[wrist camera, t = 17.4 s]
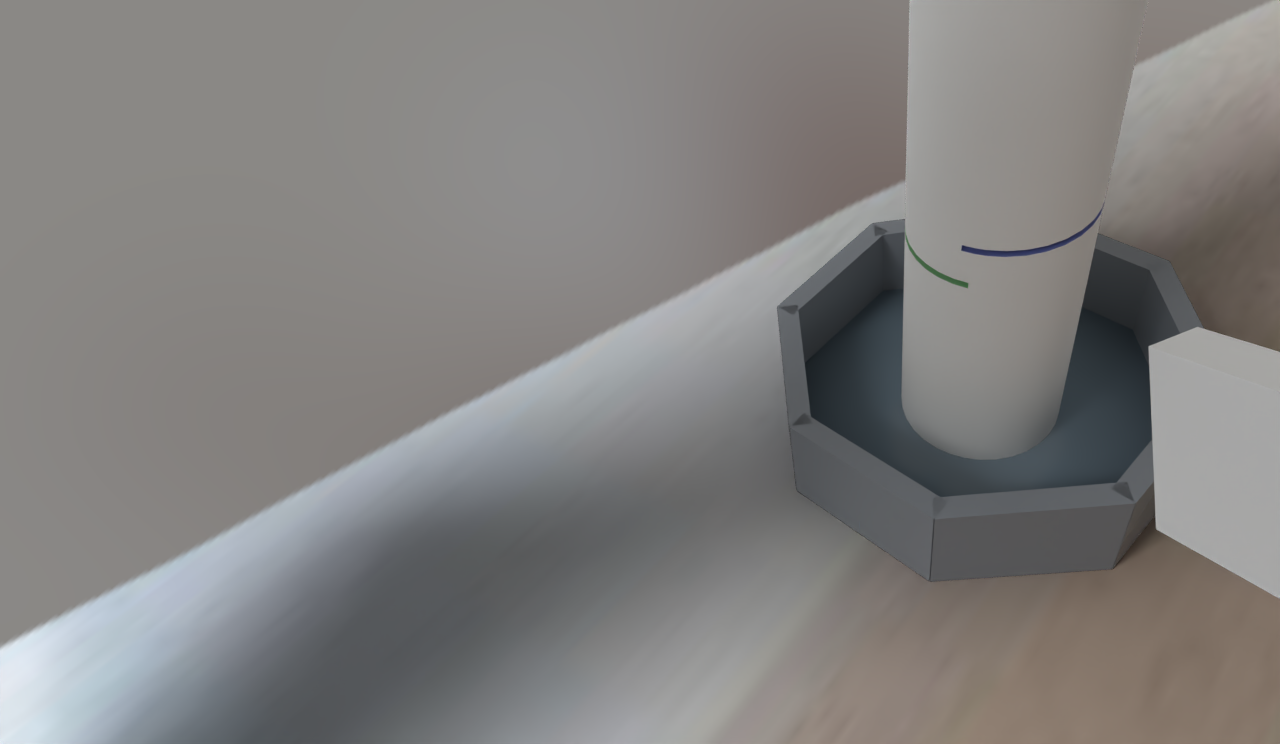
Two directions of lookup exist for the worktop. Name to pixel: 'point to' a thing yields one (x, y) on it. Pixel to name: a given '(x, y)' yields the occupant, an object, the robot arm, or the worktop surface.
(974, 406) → the cylindrical container
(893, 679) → the worktop surface
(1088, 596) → the worktop surface
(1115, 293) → the bowl
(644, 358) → the worktop surface
